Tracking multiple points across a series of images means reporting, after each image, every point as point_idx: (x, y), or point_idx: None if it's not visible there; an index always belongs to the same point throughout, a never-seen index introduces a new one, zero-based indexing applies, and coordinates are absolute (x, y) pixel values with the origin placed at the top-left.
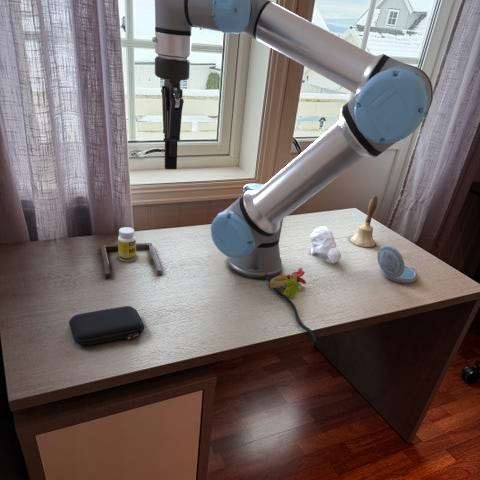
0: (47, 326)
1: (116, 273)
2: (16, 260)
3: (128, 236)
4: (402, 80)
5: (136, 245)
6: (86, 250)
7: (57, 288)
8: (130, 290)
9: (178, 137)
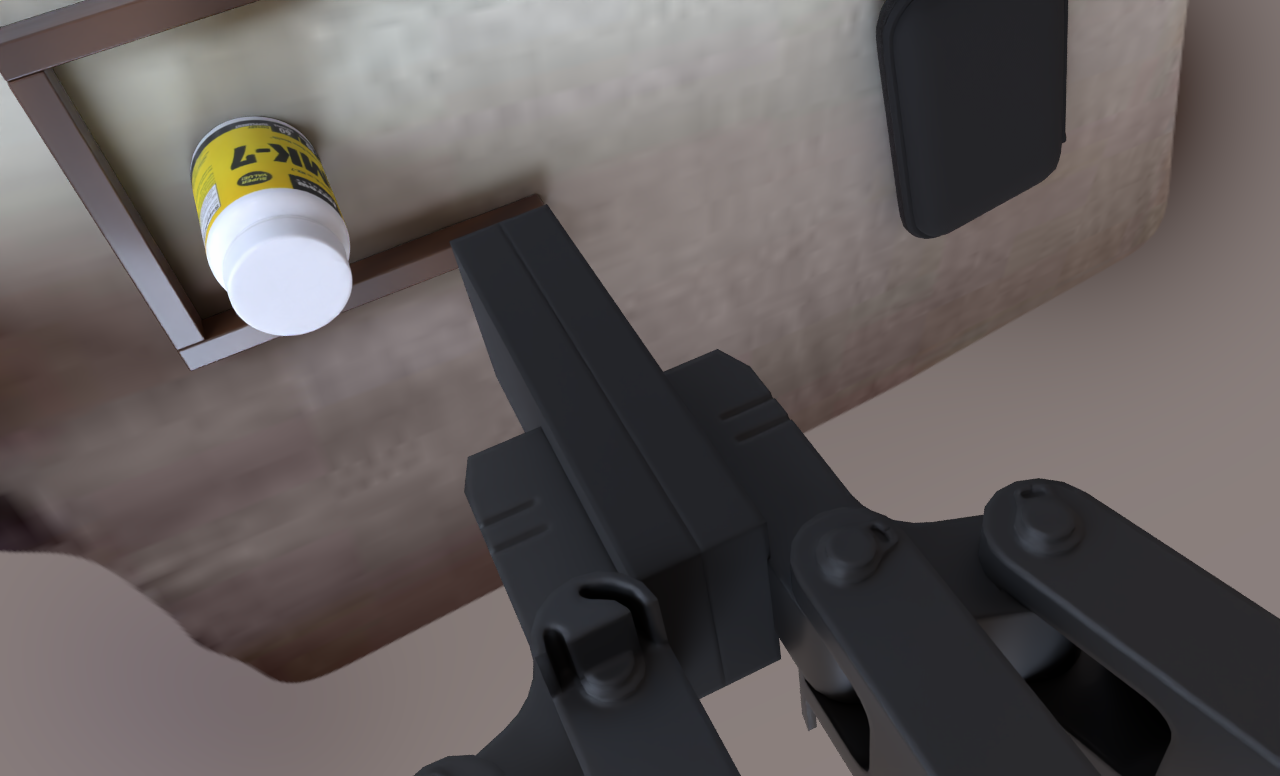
0: (887, 293)
1: (474, 179)
2: (421, 596)
3: (341, 246)
4: None
5: (96, 159)
6: (224, 413)
7: None
8: (653, 57)
9: (1129, 542)
